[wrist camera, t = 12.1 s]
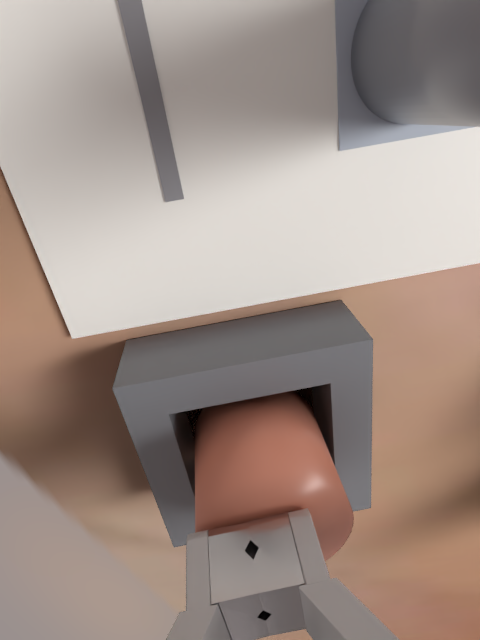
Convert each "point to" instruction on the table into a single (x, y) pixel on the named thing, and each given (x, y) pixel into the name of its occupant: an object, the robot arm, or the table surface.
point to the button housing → (247, 393)
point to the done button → (267, 467)
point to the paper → (216, 159)
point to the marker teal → (419, 61)
